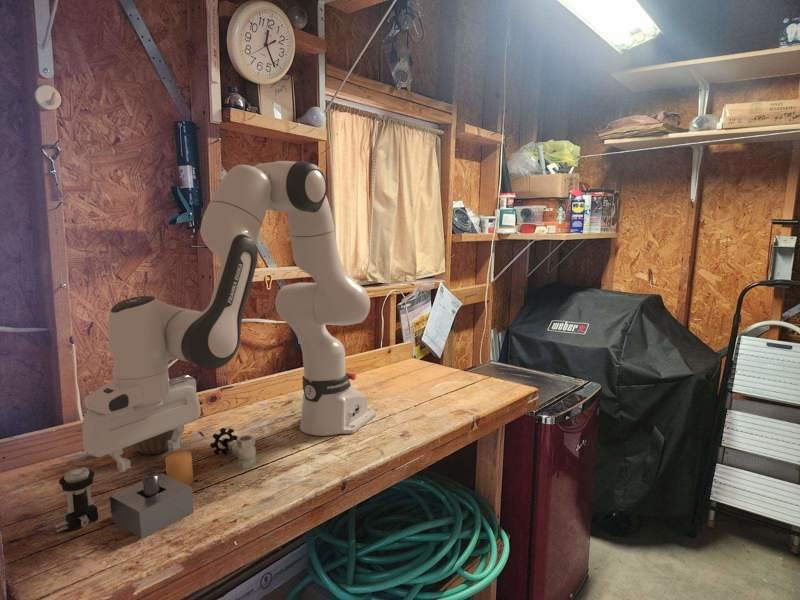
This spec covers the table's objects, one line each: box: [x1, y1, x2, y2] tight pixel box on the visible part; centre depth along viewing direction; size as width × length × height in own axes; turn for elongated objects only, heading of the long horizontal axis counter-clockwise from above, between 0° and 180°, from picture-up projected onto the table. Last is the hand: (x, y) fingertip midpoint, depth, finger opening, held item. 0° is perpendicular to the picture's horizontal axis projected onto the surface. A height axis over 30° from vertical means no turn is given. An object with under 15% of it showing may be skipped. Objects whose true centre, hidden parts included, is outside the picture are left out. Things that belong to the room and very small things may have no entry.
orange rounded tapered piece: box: [165, 451, 194, 486], centre depth 104 cm, size 5×5×6 cm
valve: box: [209, 427, 257, 470], centre depth 114 cm, size 7×7×12 cm
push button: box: [55, 466, 99, 533], centre depth 89 cm, size 7×5×10 cm
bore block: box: [109, 472, 194, 540], centre depth 92 cm, size 10×10×5 cm
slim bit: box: [142, 472, 160, 499], centre depth 92 cm, size 3×3×8 cm
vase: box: [130, 430, 174, 455], centre depth 121 cm, size 13×13×18 cm
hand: (150, 459), depth 92 cm, fingers open, 8 cm apart
